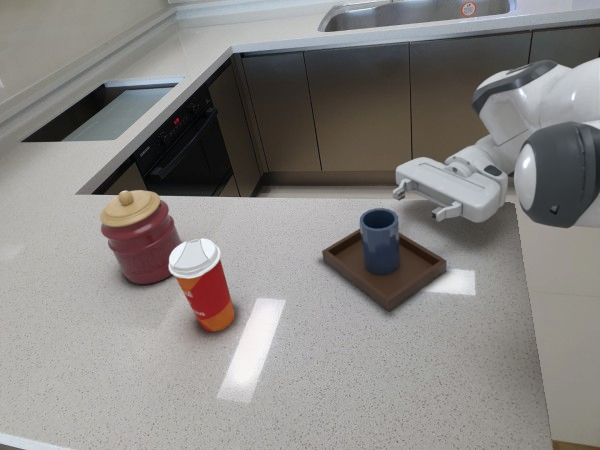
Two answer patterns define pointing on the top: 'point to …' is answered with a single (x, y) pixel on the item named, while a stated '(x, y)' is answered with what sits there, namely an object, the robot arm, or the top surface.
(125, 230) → the kitchen canister
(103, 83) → the top surface
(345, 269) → the tray
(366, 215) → the tumbler
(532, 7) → the top surface
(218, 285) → the coffee cup
